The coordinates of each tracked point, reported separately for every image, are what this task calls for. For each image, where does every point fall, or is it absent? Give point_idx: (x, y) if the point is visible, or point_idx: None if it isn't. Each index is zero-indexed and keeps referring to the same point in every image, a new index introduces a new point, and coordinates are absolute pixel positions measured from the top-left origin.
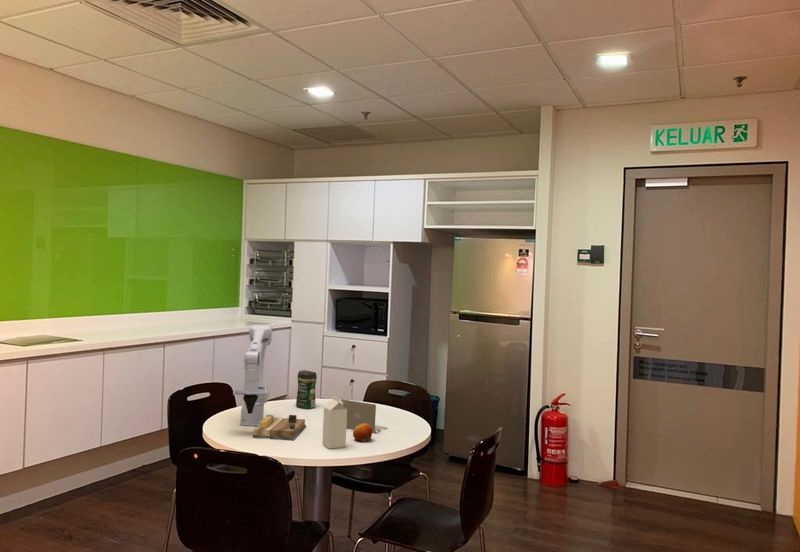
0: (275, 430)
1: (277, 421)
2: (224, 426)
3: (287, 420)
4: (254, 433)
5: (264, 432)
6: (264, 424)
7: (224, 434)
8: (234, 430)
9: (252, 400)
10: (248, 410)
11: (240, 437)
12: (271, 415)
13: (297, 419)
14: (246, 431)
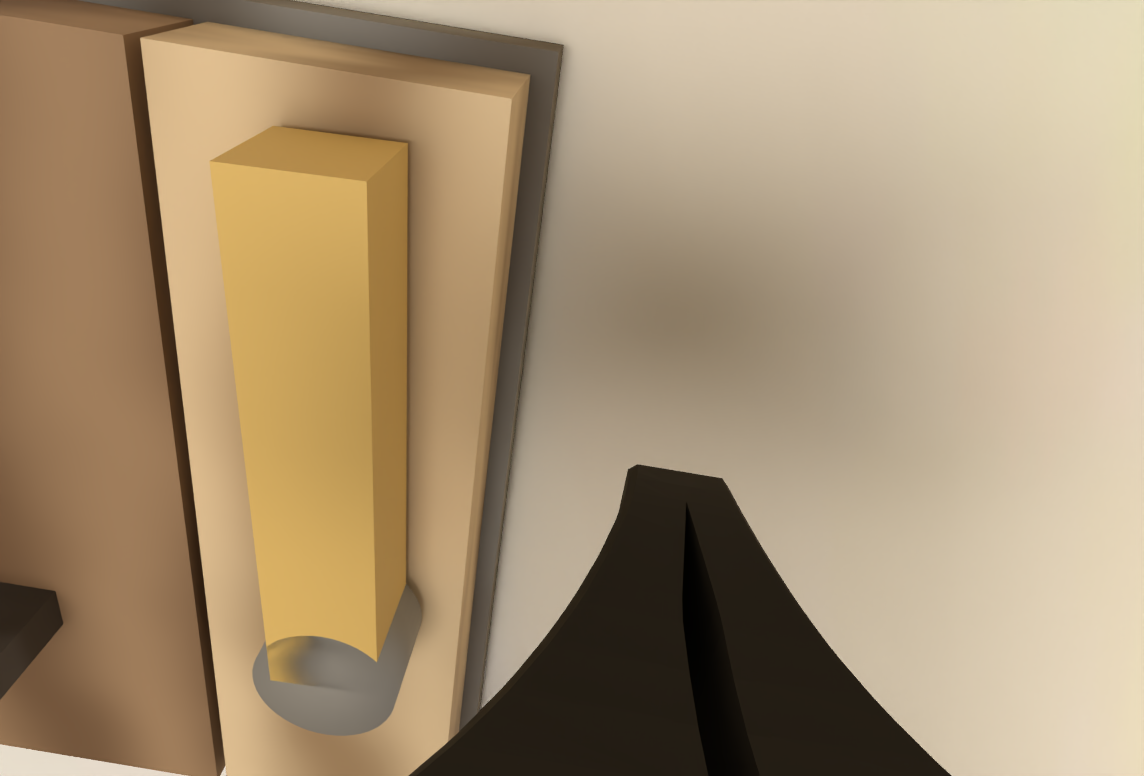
0: (18, 16)
1: (246, 634)
2: (1063, 670)
3: (122, 682)
4: (520, 77)
5: (297, 51)
6: (258, 151)
7: (1105, 256)
8: (917, 493)
9: (533, 766)
10: (714, 518)
11: (799, 63)
12: (297, 705)
13: (13, 727)
14: (723, 449)
